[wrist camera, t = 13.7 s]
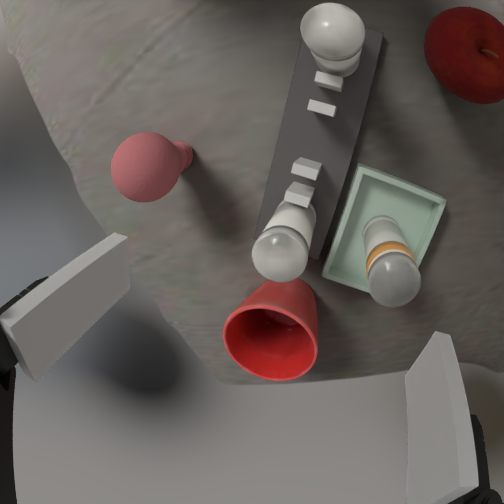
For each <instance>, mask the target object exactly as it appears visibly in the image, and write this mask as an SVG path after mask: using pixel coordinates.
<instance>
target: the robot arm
mask: <svg viewBox="0 0 504 504" xmlns="http://www.w3.org/2000/svg"><path fill="white" fill-rule="evenodd" d="M129 290H130V273H129V252H128V237H126V236H123V235H120V234H117V233H113V234H112V235H110V236H109V237H107V238H105V239H104V240H103V241H101V242H99V243H98V244H96V245H95V246H93V247H92V248H91V249H89V250H88V251H86V252H85V253H83V254H82V255H80V256H79V257H77V258H76V259H74V260H73V261H72V262H70V263H69V264H67V265H66V266H64V267H63V268H62V269H60V270H59V271H57V272H56V273H55V274H53V275H52V276H50V277H45V278H42V279H39V280H37V281H35V282H34V283H32V284H31V285H30V286H29V287H27V288H26V290H25V289H24V290H23V291H22V292H21V293H19V295H16V296H15V297H14V298H12V299H11V300H10V301H9V302H7V303H6V304H5V305H3V306H2V307H1V308H0V504H17V499H16V491H15V481H14V468H13V440H12V439H13V431H12V430H13V401H14V389H15V378H16V368H15V367H14V366H15V365H16V364H17V363H18V362H19V364H20V366H21V368H22V370H23V372H24V373H25V374H26V375H27V376H29V377H30V378H31V379H33V380H34V381H35V382H37V381H38V380H39V379H40V378H41V377H42V376H43V375H44V374H45V372H46V371H47V370H48V369H49V368H50V367H51V366H52V365H53V364H54V363H55V362H56V361H57V360H58V359H59V358H60V357H61V356H62V355H63V354H64V353H65V352H66V351H67V350H68V349H69V348H70V347H71V346H72V345H73V344H74V343H75V342H76V341H77V340H78V339H79V338H80V337H81V336H82V335H83V334H84V333H85V332H86V331H87V330H88V329H89V328H90V327H91V326H92V325H93V324H94V323H95V322H96V321H97V320H98V319H99V318H100V317H101V316H102V315H103V314H104V313H105V312H106V311H107V310H108V309H109V308H111V307H112V306H113V305H114V304H115V303H116V302H117V301H118V300H119V299H120V298H121V297H122V296H123V295H124V294H125V293H126V292H127V291H129ZM405 390H406V406H407V433H408V466H407V491H406V504H504V503H502V500H501V497H500V495H499V494H498V492H496V491H495V490H492V489H490V483H489V473H488V464H487V456H486V451H485V442H484V441H483V440H484V436H483V430H482V426H481V424H480V422H479V420H478V418H477V416H476V415H471V414H470V413H469V408H468V403H467V398H466V393H465V389H464V385H463V380H462V377H461V373H460V368H459V364H458V361H457V357H456V353H455V350H454V346H453V343H452V340H451V336H450V335H448V334H445V333H441V332H437V331H435V332H434V334H433V335H432V337H431V339H430V340H429V342H428V343H427V345H426V346H425V348H424V349H423V351H422V352H421V354H420V355H419V357H418V358H417V359H416V361H415V362H414V364H413V365H412V367H411V368H410V369H409V371H408V372H407V373H406V375H405Z"/></svg>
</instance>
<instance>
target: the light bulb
mask: <svg viewBox="0 0 504 504" xmlns="http://www.w3.org/2000/svg"><path fill="white" fill-rule="evenodd" d="M192 159H193V152H192V149H191V147H190V146H189V145H188V144H187V143H185V142H171V141H169V140H168V139H167V138H165V137H164V136H162V135H160V134H156V133H151V132H143V133H138V134H135V135H132V136H130V137H129V138H127V139H126V140H124V141H123V142H122V143H121V144H120V145H119V147H118V148H117V150H116V151H115V153H114V156H113V159H112V162H111V175H112V179H113V182H114V184H115V186H116V188H117V189H118V190H119V191H120V193H121V194H123V195H124V196H125V197H127V198H128V199H131V200H133V201H137V202H151V201H155V200H158V199H160V198H162V197H163V196H165V195H166V194H167V193H168V192H170V190H171V189H172V188H173V187H174V185H175V184H176V182H177V179H178V177H179V174H180V173H181V172H182V171H183V170H184V169H186V168H187V167H188V166H189V165H190V164H191V162H192Z"/></svg>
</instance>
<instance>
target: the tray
mask: <svg viewBox="0 0 504 504" xmlns="http://www.w3.org/2000/svg"><path fill="white" fill-rule="evenodd" d="M446 202H447V200H446V199H445V198H443V197H442V196H441V195H440V194H437V193H435V192H433V191H430V190H428V189H426V188H423V187H421V186H418V185H416V184H414V183H411V182H409V181H406V180H404V179H401V178H398V177H396V176H393V175H391V174H388V173H385V172H383V171H380V170H377V169H375V168H372V167H369V166H366V165H363V164H360V163H358V165H357V168H356V172H355V175H354V178H353V181H352V184H351V188H350V191H349V194H348V197H347V200H346V203H345V206H344V209H343V212H342V215H341V218H340V221H339V224H338V226H337V229H336V232H335V235H334V238H333V241H332V243H331V246H330V249H329V252H328V255H327V257H326V260H325V263H324V265H323V269H322V274H321V277H324V278H327V279H329V280H332V281H335V282H338V283H341V284H344V285H347V286H350V287H353V288H356V289H359V290H362V291H365V292H368V293H370V291H369V284H368V279H367V271H366V255H365V247H364V243H363V236H362V233H363V228H364V226H365V224H366V223H367V222H368V221H369V220H370V219H371V218H373V217H375V216H380V215H385V216H389V217H391V218H393V219H394V220H395V221H396V222H397V223H398V225H399V227H400V229H401V231H402V234H403V237H404V239H405V241H406V243H407V246H408V248H409V249H410V251H411V252H412V255H413V257H414V259H415V262H416V265H417V268H418V267H419V265H420V263H421V261H422V259H423V256H424V254H425V252H426V250H427V248H428V246H429V243H430V241H431V239H432V236H433V234H434V232H435V230H436V227H437V225H438V222H439V220H440V217H441V215H442V213H443V210H444V207H445V205H446Z"/></svg>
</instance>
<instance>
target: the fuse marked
mask: <svg viewBox="0 0 504 504" xmlns="http://www.w3.org/2000/svg"><path fill="white" fill-rule="evenodd" d="M362 236H363V243H364V247H365V255H366V271H367V279H368V284H369V291H370V294H371V296H372V298H373V299H374V300H375V301H376V302H377V303H379V304H380V305H383V306H386V307H399V306H402V305H405V304H407V303H408V302H410V301H411V300H412V299H413V298H414V297H415V296H416V295H417V293H418V291H419V289H420V286H421V276H420V273H419V270H418V268H417V265H416V262H415V259H414V257H413V255H412V252H411V251H410V249H409V248H408V246H407V243H406V241H405V239H404V237H403V234H402V231H401V229H400V227H399V225H398V223H397V222H396V221H395V220H394V219H393V218H391V217H389V216H385V215H380V216H375V217H373V218H371V219H370V220H369V221H368V222H367V223H366V224H365V226H364V228H363V233H362Z"/></svg>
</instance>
